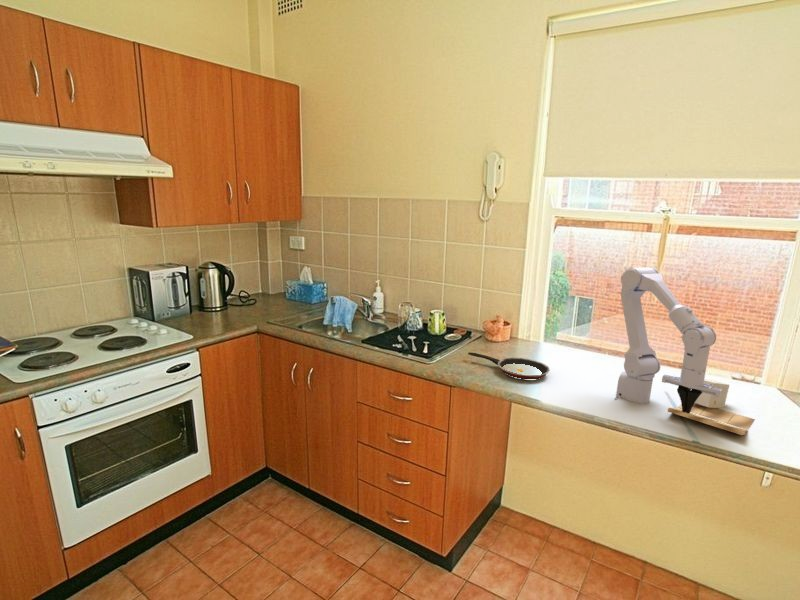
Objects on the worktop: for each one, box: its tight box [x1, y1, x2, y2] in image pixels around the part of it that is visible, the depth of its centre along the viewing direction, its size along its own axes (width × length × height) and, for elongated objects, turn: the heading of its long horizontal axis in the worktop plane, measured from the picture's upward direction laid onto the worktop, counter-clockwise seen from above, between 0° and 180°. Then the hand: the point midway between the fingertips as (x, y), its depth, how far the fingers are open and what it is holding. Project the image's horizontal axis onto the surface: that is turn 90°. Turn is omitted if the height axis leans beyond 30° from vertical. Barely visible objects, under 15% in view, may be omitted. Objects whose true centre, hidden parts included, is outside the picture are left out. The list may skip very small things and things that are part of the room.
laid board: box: [677, 403, 756, 431], centre depth 136 cm, size 18×10×1 cm, turn 43°
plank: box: [667, 407, 749, 436], centre depth 129 cm, size 18×10×1 cm, turn 43°
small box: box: [695, 378, 730, 409], centre depth 141 cm, size 8×6×10 cm
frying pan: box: [467, 351, 551, 380], centre depth 170 cm, size 19×32×4 cm, turn 56°
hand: (686, 412), depth 130 cm, fingers closed, pressing on plank
